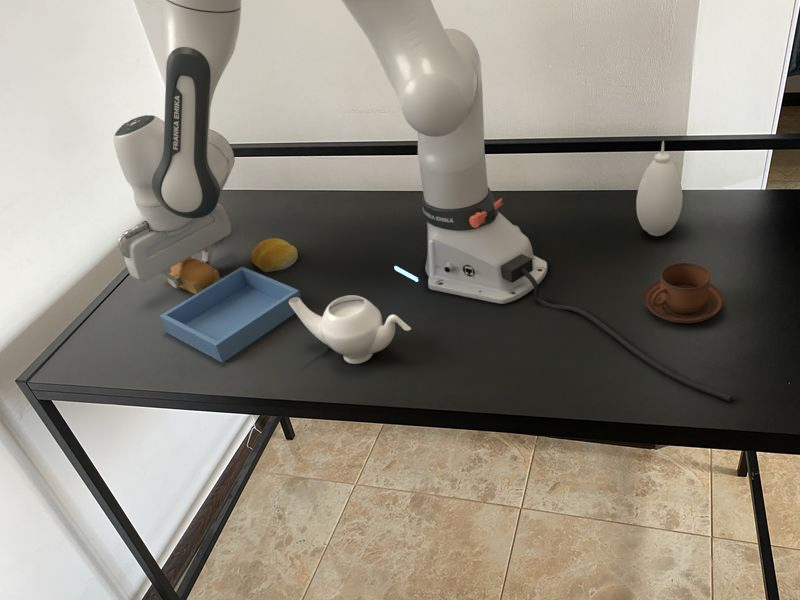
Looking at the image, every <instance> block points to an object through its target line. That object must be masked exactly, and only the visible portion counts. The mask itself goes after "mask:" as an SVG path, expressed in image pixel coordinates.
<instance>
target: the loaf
mask: <svg viewBox="0 0 800 600" xmlns="http://www.w3.org/2000/svg"><path fill="white" fill-rule="evenodd" d="M200 260H201V259H198V258H196V257H192V256H191V257H189V258H187V259H185V260H183V261H182V262H180V263H178V264H176V265H175V266H173V267H171V270H172V272H171V273H170V274H171V275H174V274H175V275H177V276H180V277H181V281H182V283H183V284H182V285H181V286H179V287H178V288H182V289H183V290H185V291H187V292H189V293H192V294H194V295H195V294H197V293H199V292H200V291H202V290H204V289H205V288H207V287H209V286H210V285H212V284H214V283H215V282H217V281H219V280H220V279H221V276H220V273H219V269H216V268H214V267H211V266H210V265H208V264H207V263H204V262H202V261H200ZM165 278H166V281H167V283H168V284H169V285H171V284H170V281H169V279H168V278H167V277H165Z"/></svg>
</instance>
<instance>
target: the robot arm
mask: <svg viewBox="0 0 800 600" xmlns="http://www.w3.org/2000/svg"><path fill="white" fill-rule="evenodd" d="M340 1H341V2H342V4H343V5H344V6H345V8H346V10H347V11H348V12H349V13H350V15H351V16H352V18H353V19H354V20H355V22H356V23H357V25H358V26H359V27H360V29H361V30H362V32H363V33H364V35H365V36H366V38H367V40H368V42H369V43H370V45H371V47H372V49H373V51H374V53H375V55H376V57H377V59H378V61H379V63H380V65H381V67H382V69H383V71H384V73H385V75H386V77H387V79H388V81H389V83H390V85H391V87H392V89H393V90H394V92H395V95H396V97H397V99H398V101H399V104H400V108H401V111H402V115H403V117H404V119H405V121H406V123H407V124H408V125H409V126H410V127H411V128H412V129H413V130H414V131H415V132H417V160H418V167H419V173H420V180H421V187H422V193H423V194H422V195H421V196H422V197H421V203H422V205H421V206H422V208H421V209H422V213H423V218H424V221H426V229H427V251H426V252H427V253H426V261H425V265H424V266H425V267H424V268H425V273H426V275H427V276H428V279H427V280H428V281H427V285H428V286H427V287H428V289H430V290H432V291H436V292H440V293H445V294H450V295H455V296H460V297H464V298H471V299H475V300H481V301H485V302H490V303H495V304H500V305H504V304H508V303H512V302H514V301H517V300H519V299H521V298H522V297H524V296H526V295H527V294H529V293H530V292H531V291H532V290H533V297H534V299H535V301H536V302H538V303H539V304H540V305H541V306H545V307H548V308H549V307H550V308H554V309H557V310H562V311H568V312H574V313H577V314H578V315H580V316H582V317H584V318H586V319H587V320H589V321H590V322H592V323H593V324H595V325H596V326H598V327H599V328H600V329H601V330H603V332H605V333H606V334H608V335H610V336H611V337H612V338H613V339H615V340H616V341H617V342H619V343H620V344H621V345H622V346H623V347H625V349H627V350H629V351H630V353H632V354H634V355H635V356H637V357H638V358H639V359H641V360H642V361H643V362H645V363H647V364H648V365H649V366H651V367H653V368H654V369H656V370H658V371H659V372H661V373H662V374H664V375H666V376H668V377H669V378H671V379H673V380H675V381H678V382H679V383H682V384H683V385H686V386H688V387H690V388H692V389H695V390H697V391H701V392H702V393H705V394H708V395H711V396H713V397H716V398H719V399H722V400H724V401H727V402H730V401H731V400H732V395H730V394H728V393H725V392H722V391H720V390H717V389H714V388H712V387H709V386H706V385H704V384H701V383H698V382H695V381H693V380H691V379H689V378H686V377H685V376H683V375H680V374H678V373H677V372H675V371H673V370H671V369H669V368H667V367H665V366H664V365H662V364H660V363H659V362H657V361H655V360H654V359H653V358H651V357H649V356H648V355H647V354H645V353H643V352H642V351H640V350H639V349H638V348H637V347H635V346H634V345H632V344H631V343H630V342H629V341H627V340H626V339H625V338H624V337H622V336H621V335H620V334H618V333H617V332H616V331H614V330H613V329H612V328H611V327H609V326H607V325H606V324H605V323H604V322H602V321H601V320H600V319H598V318H597V317H595V315H593V314H591V313H590V312H588V311H586V310H585V309H582V308H580V307H577V306H573V305H567V304H554V303H551V302H548V301H546V300H544V299H543V298H542V297H541V296H540V291H539V290H540V289H539V285H540V284H541V282H542V281H543V280H544V278H545V277H546V275H547V273H548V262H547V261H545V259H543V258H540V257H538V256H536V255H534V251H533V246H532V244H531V241H530V239H529V237H528V236H526V235H525V234H524V233H523V232H522V231H521V228H520V227H519V226H518V225H515V224H513V223H512V222H511V221H510V220H508V219H507V217H505V216H504V215H503V214H502V213H501V212H500V209H499V208H500V207H501V206H502V205H503V202H502V201H503V198H499V199H497V200H495V197H494V195H493V193H492V191H491V189H490V187H489V183H488V182H489V181H488V174H487V173H488V172H487V161H486V151H485V122H484V120H485V119H484V118H485V117H484V97H483V77H482V75H483V74H482V63H481V57H480V54H479V51H478V48H477V45H476V44H475V42H474V41H473V39H471V37H470V36H469V35H467V34H466V33H465V32H463V31H461V30H459V29H455V28H444V25H443V24H442V22H441V20H440V17H439V16H438V13H437V11H436V9H435V7H434V5H433V2H432V0H340ZM161 9H162V28H163V41H164V66H165V67H164V68H165V93H164V98H165V99H164V120H163V119H162V118H160V117H158V116H156V115H150V114H149V115H148V114H146V115H145V114H144V115H140V116H138V117H135V118H132V119H130V120H129V121H127V122H125V123H123V124H122V125H121V126H120V127H119V128H118V130H116V131H115V133H114V136H113V145H114V150H115V153H116V156H117V161H118V163H119V166H120V168H121V171H122V174H123V176H124V179H125V180H126V182H127V184H129V186H130V187H131V190H132V192H133V199H134V202H135V205H136V208H137V210H138V212H139V215H140V217H141V220H142V222H141V223H138V224H137V225H135V226H134V227H131V228H130V229H127V230H125V231H123V232H122V233H121V236H120V238H119V239H118V242H117V246H118V248H119V250H120V253H121V254H122V256H123V258H124V261H125V265H126V267H127V270H128V273H129V275H130V276H131V277H132V278H134V279H136V280H138V281H141V282H147V281H150V280H152V279H153V278H155V277H156V276H159V275H160V274H161V275H162V276H164V277H165V278H166V277H167V278H168V279H169V281H170V284H169V285H171V287H173V288H175V289H178V288H180V287H179V286H181V285H182V284H183V283H182V281H181V277H180V276H177V275H175V274H174V275H171V274H170V273H171V272H172V270H171V267H173V266H175V265H176V264H178V263H180V262H182V261H183V260H185V259H187V258H189V257H192V256H194V255H196V254H198V253H199V252H201V251H202V253H201V258H200V259H199V260H200V261H202V262H204V263H207V264H208V265H210V266H211V267H212V268H214V267H213V263H212V260H211V259H212V254H213V246H212V245H214V244H216V243H218V242H219V241H221V240H223V239H225V238H226V237H228V236H230V234H231V232H232V223H231V221H230V219H229V216H228V214H227V212H226V210H225V208H224V206H223V205H222V204H220V203H219V199H220V196H221V193H222V191H223V189H224V187H225V185H226V183H227V182H228V179H229V177H230V175H231V172H232V171H233V168H234V165H235V162H236V161H235V159H236V158H235V153H234V149H233V147H232V146H231V144H230V143H229V141H228V140H227V138H225V137H224V136H223V134H220V133H219V132H217V131H215V130H213V129H210V123H211V122H210V119H211V107H212V103H213V99H214V95H215V91H216V88H217V87H218V84H219V82H220V80H221V77H222V75H223V74H224V72H225V70H226V68H227V67H228V64H229V62H230V61H231V59H232V57H233V55H234V53H235V50H236V46H237V42H238V37H239V32H240V26H241V17H242V15H241V14H242V0H161ZM394 270H395V271H396V272H398V273H400V274H402V275H404V276H406V277H407V278H409V279H411V280H413V281H415V282H416V283H417V282H419V277H417V276H415V275H413V274H412V273H409V272H408V271H406V270H404V269H402V268H400V267H399V266H397V265H395V266H394ZM167 278H166V279H167Z"/></svg>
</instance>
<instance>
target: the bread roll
mask: <svg viewBox="0 0 800 600" xmlns="http://www.w3.org/2000/svg"><path fill="white" fill-rule="evenodd" d="M298 257H299V253H298V249H297V248H296V247H295V246H294V245H293V244H292V245H291V244H290V243H289V242H288V241H287V240H284V239H281V238H273V237H271V238H267V239H264V240H262V241H260V242H259V243H258V244H257V245H256V246H255V247H254V248H253V250H252V252H251V255H250V258H251V259H250V260H251V262H252V263H253V265H254V266H256V267H257V268H258V269H260V270H261V271H262V272H264V273H271V272H277V271H283V270H286V269H288V268H290V267H291V266H293V265H294V264H295V263H296V261H298Z"/></svg>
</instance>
